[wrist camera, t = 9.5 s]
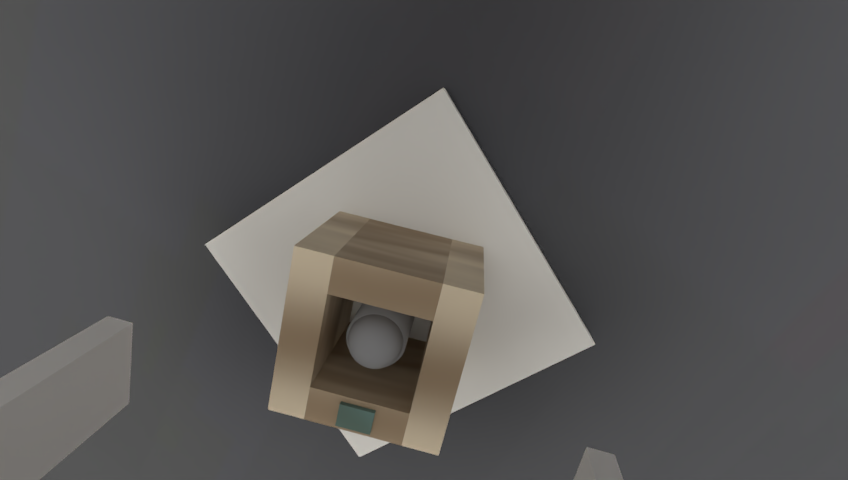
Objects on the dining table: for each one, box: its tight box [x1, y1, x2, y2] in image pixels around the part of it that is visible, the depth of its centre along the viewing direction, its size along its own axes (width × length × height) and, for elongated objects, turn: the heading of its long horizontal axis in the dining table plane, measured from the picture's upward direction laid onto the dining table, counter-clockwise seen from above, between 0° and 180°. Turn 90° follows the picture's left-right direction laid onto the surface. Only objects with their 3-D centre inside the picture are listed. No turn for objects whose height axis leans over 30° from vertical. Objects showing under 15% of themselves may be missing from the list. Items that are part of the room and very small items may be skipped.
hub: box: [205, 88, 595, 457], centre depth 22 cm, size 14×14×7 cm
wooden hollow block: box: [268, 211, 484, 456], centre depth 21 cm, size 7×7×6 cm
